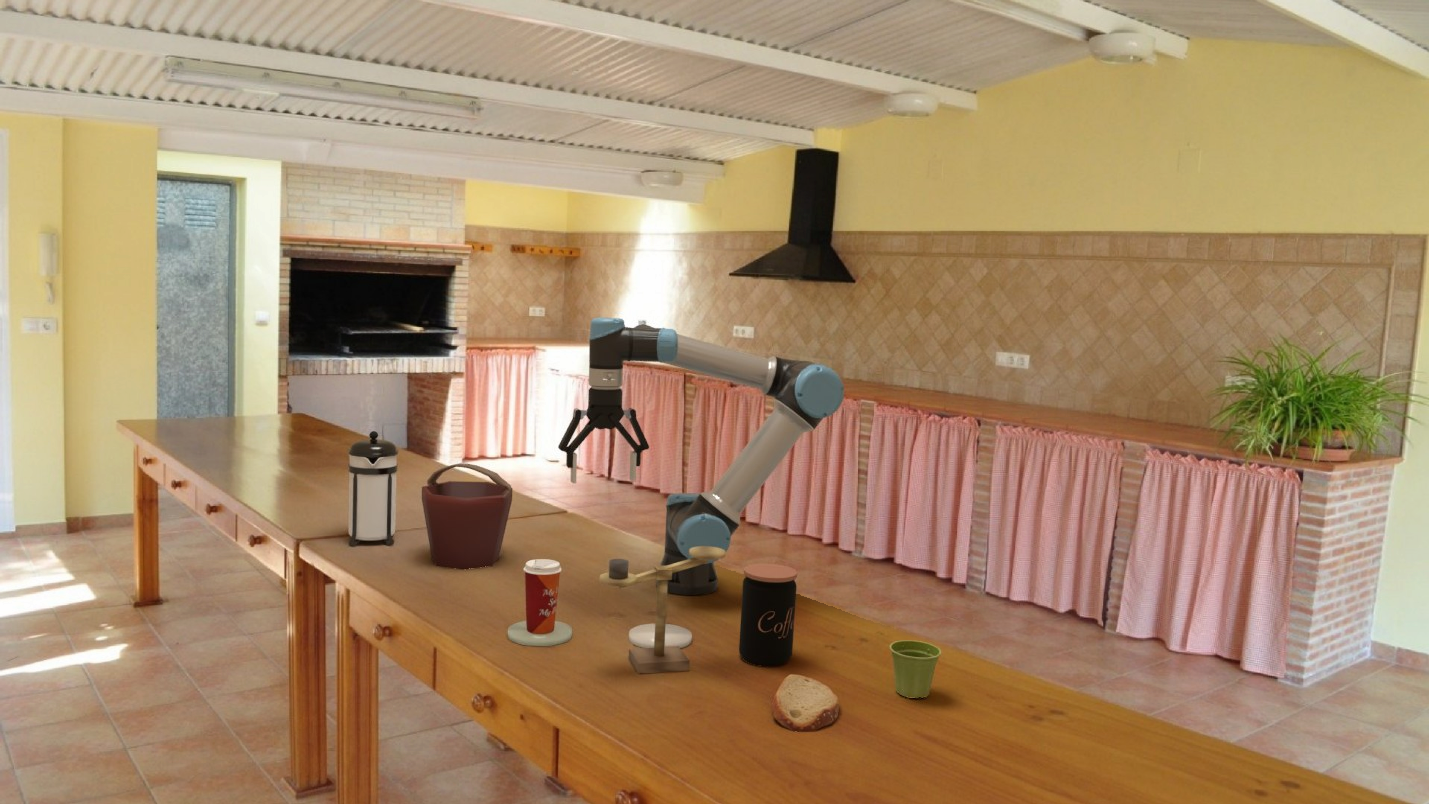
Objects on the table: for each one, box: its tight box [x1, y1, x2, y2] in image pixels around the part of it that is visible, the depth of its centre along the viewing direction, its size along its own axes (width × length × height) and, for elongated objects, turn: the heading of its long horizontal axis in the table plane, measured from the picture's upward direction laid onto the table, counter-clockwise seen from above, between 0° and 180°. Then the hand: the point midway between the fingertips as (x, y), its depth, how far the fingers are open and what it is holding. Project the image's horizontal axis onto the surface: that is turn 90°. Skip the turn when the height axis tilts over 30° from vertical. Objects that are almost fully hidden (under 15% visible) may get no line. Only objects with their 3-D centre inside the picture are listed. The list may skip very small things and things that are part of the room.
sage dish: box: [507, 620, 573, 647], centre depth 214 cm, size 13×13×1 cm
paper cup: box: [523, 558, 563, 634], centre depth 214 cm, size 8×8×14 cm
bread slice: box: [770, 674, 840, 733], centre depth 185 cm, size 18×18×4 cm
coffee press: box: [347, 430, 399, 547], centre depth 281 cm, size 17×16×30 cm
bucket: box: [421, 462, 513, 571], centre depth 266 cm, size 24×22×25 cm
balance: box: [599, 546, 727, 675], centre depth 200 cm, size 24×8×22 cm, turn 108°
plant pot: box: [889, 639, 942, 699], centre depth 193 cm, size 9×9×9 cm
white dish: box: [628, 623, 693, 649], centre depth 216 cm, size 13×13×1 cm
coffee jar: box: [738, 562, 798, 668], centre depth 207 cm, size 11×11×18 cm
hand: (603, 481), depth 234 cm, fingers open, 13 cm apart
